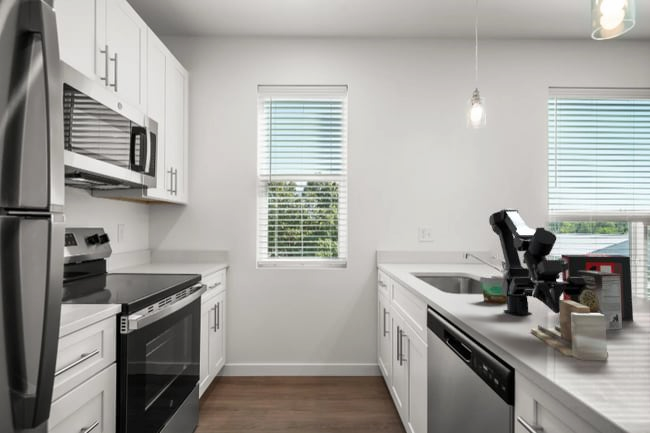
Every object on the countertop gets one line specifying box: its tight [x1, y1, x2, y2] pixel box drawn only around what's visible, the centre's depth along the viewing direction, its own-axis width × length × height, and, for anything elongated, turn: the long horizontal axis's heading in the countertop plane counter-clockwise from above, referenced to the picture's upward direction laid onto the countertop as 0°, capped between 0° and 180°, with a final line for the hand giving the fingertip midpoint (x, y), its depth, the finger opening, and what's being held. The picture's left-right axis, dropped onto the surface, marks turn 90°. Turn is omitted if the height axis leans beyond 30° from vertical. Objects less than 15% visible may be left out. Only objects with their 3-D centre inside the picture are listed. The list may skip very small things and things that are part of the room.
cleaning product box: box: [561, 254, 634, 322], centre depth 121 cm, size 16×9×20 cm, turn 70°
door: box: [559, 299, 590, 343], centre depth 89 cm, size 9×3×10 cm, turn 171°
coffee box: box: [577, 270, 623, 331], centre depth 109 cm, size 9×6×16 cm
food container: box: [479, 276, 507, 305], centre depth 144 cm, size 12×6×10 cm, turn 81°
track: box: [530, 313, 609, 361], centre depth 92 cm, size 22×9×10 cm, turn 171°
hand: (557, 312), depth 97 cm, fingers closed
